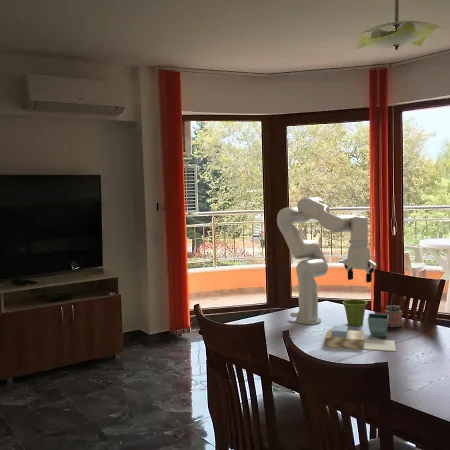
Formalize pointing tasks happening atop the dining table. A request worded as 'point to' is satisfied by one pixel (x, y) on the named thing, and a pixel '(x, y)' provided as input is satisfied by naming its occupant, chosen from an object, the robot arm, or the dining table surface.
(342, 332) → the light blue block
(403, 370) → the dining table surface
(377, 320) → the flower pot
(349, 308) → the plant pot
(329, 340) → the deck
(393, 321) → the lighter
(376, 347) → the mat
